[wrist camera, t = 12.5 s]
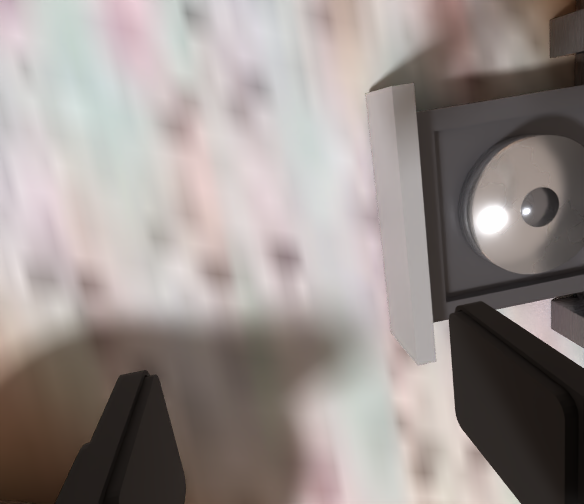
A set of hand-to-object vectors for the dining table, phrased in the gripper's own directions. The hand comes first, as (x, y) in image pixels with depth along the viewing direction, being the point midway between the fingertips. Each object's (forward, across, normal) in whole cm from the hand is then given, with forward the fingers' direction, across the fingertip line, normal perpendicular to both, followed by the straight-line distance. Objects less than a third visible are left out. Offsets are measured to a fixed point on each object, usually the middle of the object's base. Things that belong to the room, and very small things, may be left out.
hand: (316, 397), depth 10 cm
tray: (+15, -13, 0) cm, 20 cm away
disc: (+14, -14, 0) cm, 19 cm away
